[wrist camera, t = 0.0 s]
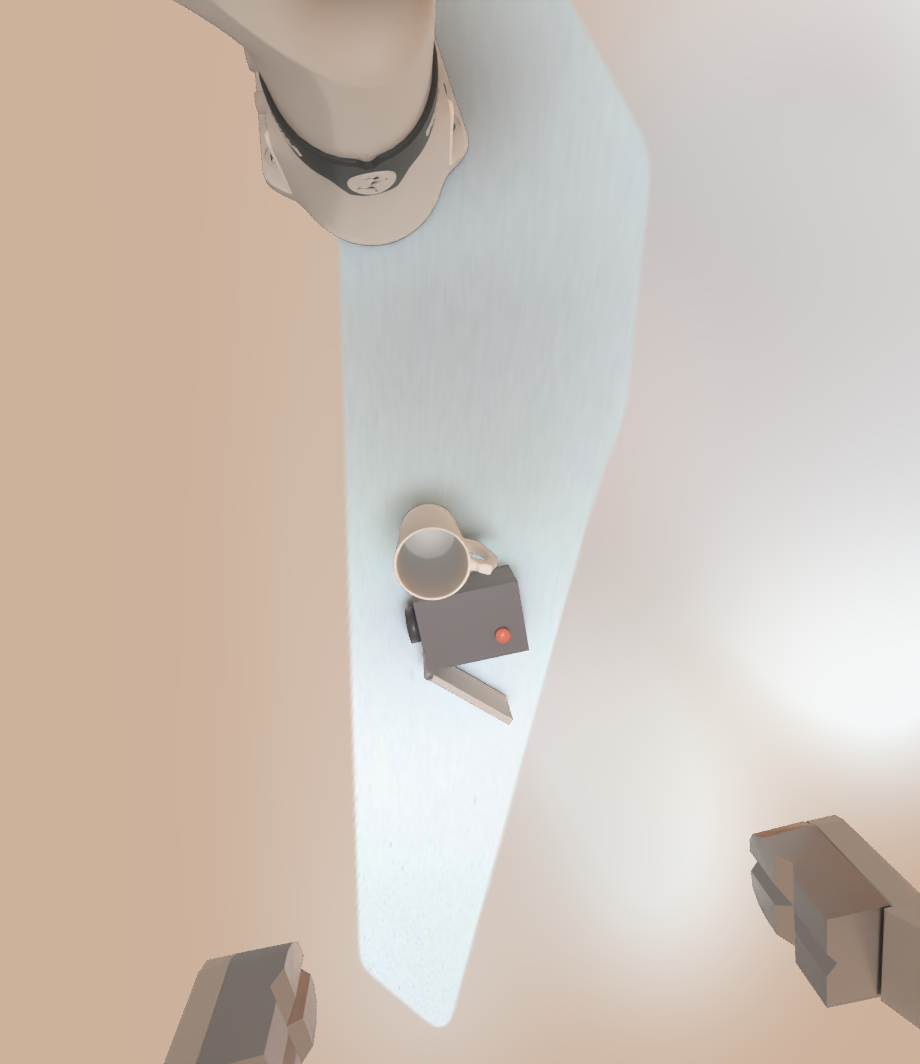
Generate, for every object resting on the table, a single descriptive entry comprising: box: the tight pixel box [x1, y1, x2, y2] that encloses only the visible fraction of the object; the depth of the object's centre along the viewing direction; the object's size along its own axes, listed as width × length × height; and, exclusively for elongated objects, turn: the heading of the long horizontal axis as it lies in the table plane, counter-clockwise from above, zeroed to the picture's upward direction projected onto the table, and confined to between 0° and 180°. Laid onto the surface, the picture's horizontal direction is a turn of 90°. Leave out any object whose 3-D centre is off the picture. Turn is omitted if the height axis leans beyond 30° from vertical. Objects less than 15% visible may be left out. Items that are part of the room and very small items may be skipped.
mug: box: [394, 504, 498, 600], centre depth 51 cm, size 10×7×12 cm, turn 78°
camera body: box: [405, 565, 529, 671], centre depth 56 cm, size 8×12×6 cm, turn 101°
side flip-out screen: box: [423, 654, 513, 725], centre depth 59 cm, size 1×12×5 cm, turn 55°
